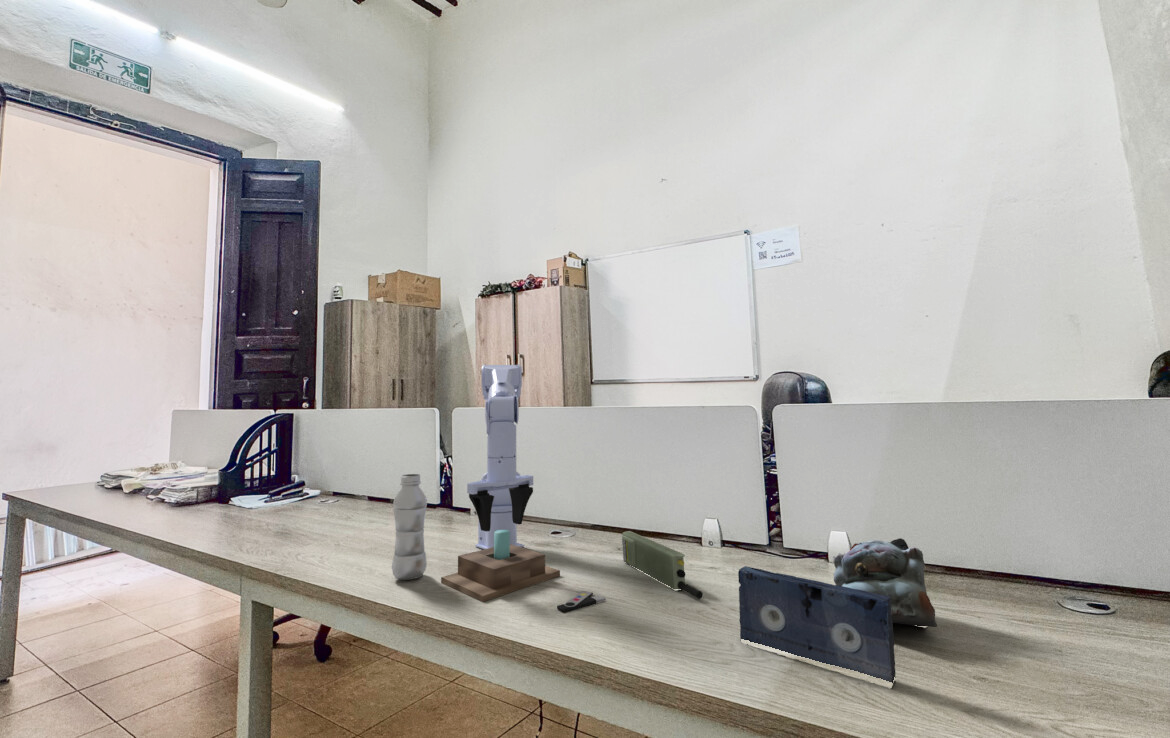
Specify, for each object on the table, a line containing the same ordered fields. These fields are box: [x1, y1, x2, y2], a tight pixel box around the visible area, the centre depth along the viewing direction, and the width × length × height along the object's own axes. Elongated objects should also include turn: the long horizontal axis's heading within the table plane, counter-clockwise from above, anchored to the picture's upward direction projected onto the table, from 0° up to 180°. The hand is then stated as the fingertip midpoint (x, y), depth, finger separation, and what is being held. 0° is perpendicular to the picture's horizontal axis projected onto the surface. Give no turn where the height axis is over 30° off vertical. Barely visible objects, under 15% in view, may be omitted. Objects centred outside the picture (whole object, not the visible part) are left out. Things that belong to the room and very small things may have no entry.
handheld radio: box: [621, 530, 704, 600], centre depth 95 cm, size 7×3×25 cm
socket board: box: [440, 544, 561, 603], centre depth 95 cm, size 14×18×4 cm
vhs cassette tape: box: [737, 565, 896, 683], centre depth 64 cm, size 18×3×10 cm, turn 48°
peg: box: [494, 530, 510, 560], centre depth 96 cm, size 3×3×8 cm
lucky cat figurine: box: [832, 537, 938, 628], centre depth 75 cm, size 15×12×14 cm
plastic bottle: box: [391, 473, 428, 581], centre depth 97 cm, size 6×7×20 cm
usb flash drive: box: [556, 590, 606, 614], centre depth 83 cm, size 9×5×1 cm, turn 124°
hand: (501, 526), depth 96 cm, fingers open, 7 cm apart
